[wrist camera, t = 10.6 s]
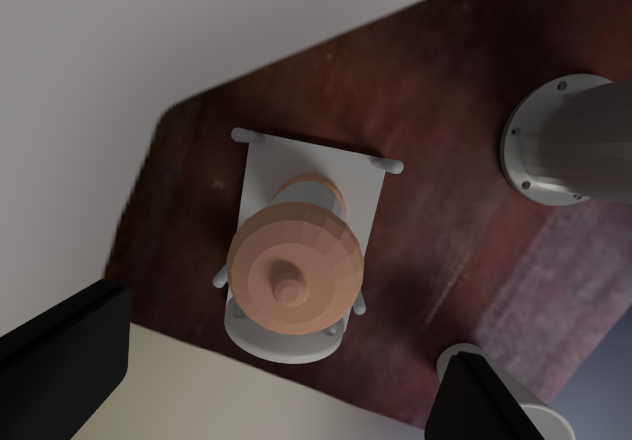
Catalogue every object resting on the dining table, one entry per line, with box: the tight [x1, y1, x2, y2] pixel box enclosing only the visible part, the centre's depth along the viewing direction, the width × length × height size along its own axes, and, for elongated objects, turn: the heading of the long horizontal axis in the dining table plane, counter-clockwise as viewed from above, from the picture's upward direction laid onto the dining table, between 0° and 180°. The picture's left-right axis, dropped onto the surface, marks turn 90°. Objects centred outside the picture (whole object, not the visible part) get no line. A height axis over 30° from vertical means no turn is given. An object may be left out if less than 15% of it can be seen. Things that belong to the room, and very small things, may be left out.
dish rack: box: [213, 128, 403, 364], centre depth 27 cm, size 14×20×12 cm
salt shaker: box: [227, 173, 364, 335], centre depth 22 cm, size 7×7×19 cm
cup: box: [436, 343, 575, 440], centre depth 31 cm, size 10×10×11 cm
